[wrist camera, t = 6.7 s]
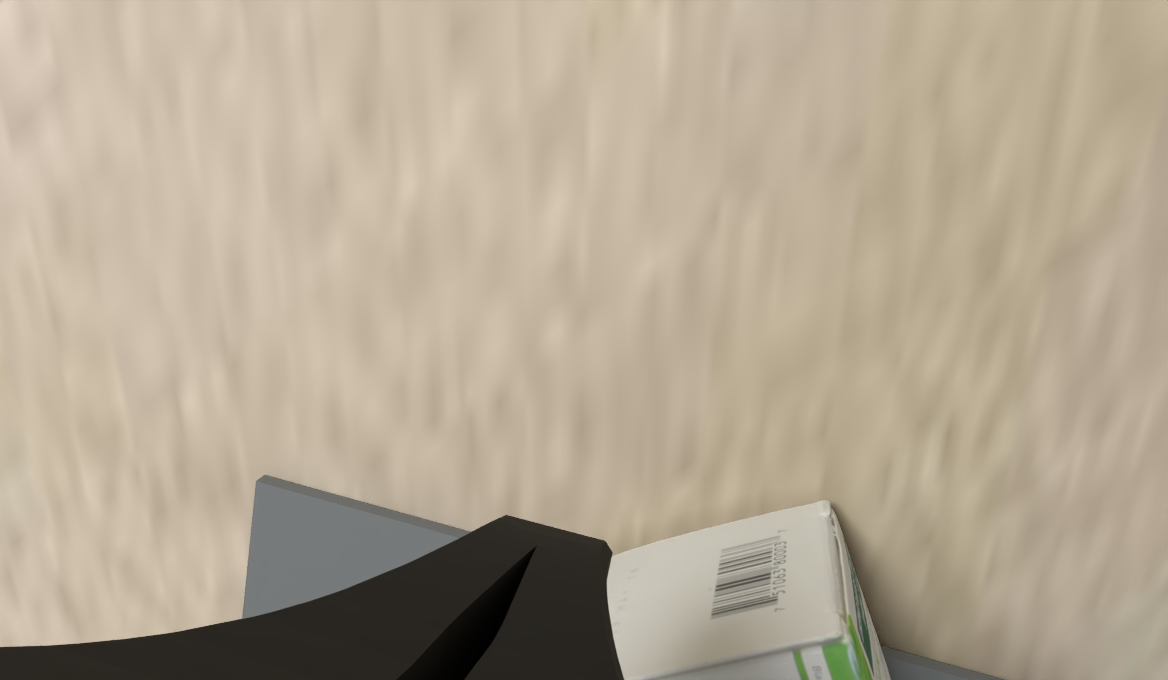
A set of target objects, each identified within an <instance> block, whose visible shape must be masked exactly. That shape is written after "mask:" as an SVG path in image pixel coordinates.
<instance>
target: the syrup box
mask: <svg viewBox="0 0 1168 680" xmlns="http://www.w3.org/2000/svg"><path fill="white" fill-rule="evenodd" d="M607 598H608V608H609V614H610V620H611V626H612V632H613V638H614V642H615V647H616V651H617V656H618V659H619V663H620V666H621V670H622V674H623V677H624V680H891V677H890V674H889V671H888V668H887V665H886V662H885V659H884V656H883V653H882V650H881V647H880V643H879V640H878V637H877V634H876V631H875V628H874V625H873V623H872V620H871V617H870V614H869V611H868V608H867V605H866V602H865V599H864V596H863V593H862V590H861V587H860V585H859V582H858V579H857V576H856V573H855V569H854V566H853V563H852V560H851V557H850V554H849V551H848V548H847V545H846V542H845V539H844V536H843V533H842V530H841V527H840V525H839V522H838V519H837V516H836V514H835V512H834V510H833V509H832V508H831V507H830V502H829V501H827V500H822V501H818V502H815V503H812V504H808V505H802V506H798V507H793V508H789V509H784V510H780V511H775V512H771V513H767V514H763V515H759V516H755V517H751V518H746V519H742V520H738V521H734V522H730V523H726V524H722V525H718V526H714V527H709V528H705V529H701V530H698V531H694V532H691V533H687V534H683V535H679V536H676V537H672V538H668V539H664V540H661V541H657V542H653V543H650V544H647V545H644V546H641V547H638V548H635V549H632V550H629V551H625V552H622V553H619V554H617V555H614V556H612V558H611V562H610V567H609V572H608V577H607Z"/></svg>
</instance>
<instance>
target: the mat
mask: <svg viewBox="0 0 1168 680" xmlns="http://www.w3.org/2000/svg"><path fill="white" fill-rule="evenodd" d="M468 533H470V532H468V531H465V530H461V529H458V528H454V527H450V526H447V525H443V524H439V523H436V522H432V521H429V520H425V519H421V518H418V517H414V516H411V515H407V514H403V513H400V512H396V511H392V510H389V509H385V508H382V507H378V506H374V505H371V504H367V503H364V502H360V501H356V500H353V499H349V498H345V497H342V496H338V495H335V494H331V493H327V492H324V491H320V490H317V489H313V488H309V487H306V486H302V485H298V484H295V483H291V482H288V481H284V480H280V479H277V478H273V477H270V476H266V475H264V476H263V477H261V478H260V479H258V480H257V481H256V487H255V497H254V507H253V517H252V527H251V537H250V547H249V557H248V567H247V577H246V587H245V597H244V607H243V617H242V619H244V618H249V617H254V616H258V615H262V614H266V613H270V612H273V611H277V610H280V609H284V608H287V607H291V606H294V605H298V604H301V603H305V602H308V601H311V600H314V599H317V598H320V597H323V596H326V595H330V594H332V593H335V592H338V591H341V590H344V589H346V588H349V587H351V586H354V585H356V584H358V583H361V582H363V581H366V580H368V579H371V578H373V577H375V576H378V575H380V574H383V573H385V572H388V571H390V570H392V569H395V568H397V567H400V566H402V565H405V564H407V563H409V562H411V561H413V560H416V559H418V558H420V557H422V556H424V555H426V554H428V553H430V552H432V551H434V550H436V549H438V548H440V547H442V546H444V545H447V544H449V543H451V542H453V541H455V540H457V539H459V538H461V537H463V536H465V535H467V534H468ZM880 647H881V650H882V653H883V656H884V659H885V662H886V665H887V668H888V671H889V674H890V677H891V680H1003V679H1000V678H996V677H992V676H989V675H985V674H982V673H978V672H974V671H971V670H967V669H964V668H960V667H956V666H953V665H949V664H945V663H942V662H938V661H935V660H931V659H927V658H924V657H920V656H917V655H913V654H909V653H906V652H902V651H898V650H895V649H891V648H888V647H884V646H880Z"/></svg>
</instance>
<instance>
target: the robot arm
mask: <svg viewBox="0 0 1168 680" xmlns="http://www.w3.org/2000/svg"><path fill="white" fill-rule="evenodd" d="M611 558H612V551H611V549H610V548H609V546H608V545H607V543H606V541H603V540H599V539H596V538H592V537H588V536H584V535H580V534H577V533H573V532H569V531H565V530H561V529H557V528H554V527H550V526H546V525H542V524H538V523H535V522H531V521H527V520H523V519H519V518H516V517H512V516H508V515H506V516H503V517H501V518H498V519H496V520H494V521H492V522H490V523H488V524H486V525H484V526H482V527H480V528H478V529H476V530H474V531H472V532H470V533H468V534H467V535H465V536H463V537H461V538H459V539H457V540H455V541H453V542H451V543H449V544H447V545H444V546H442V547H440V548H438V549H436V550H434V551H432V552H430V553H428V554H426V555H424V556H422V557H420V558H418V559H416V560H413V561H411V562H409V563H407V564H405V565H402V566H400V567H397V568H395V569H392V570H390V571H388V572H385V573H383V574H380V575H378V576H375V577H373V578H371V579H368V580H366V581H363V582H361V583H358V584H356V585H354V586H351V587H349V588H346V589H344V590H341V591H338V592H335V593H332V594H330V595H326V596H323V597H320V598H317V599H314V600H311V601H308V602H305V603H301V604H298V605H294V606H291V607H287V608H284V609H280V610H277V611H273V612H270V613H266V614H262V615H258V616H254V617H249V618H244V619H239V620H234V621H229V622H224V623H219V624H214V625H209V626H204V627H199V628H194V629H190V630H185V631H180V632H174V633H167V634H160V635H153V636H145V637H138V638H130V639H122V640H111V641H101V642H91V643H80V644H67V645H52V646H23V647H0V680H624V677H623V674H622V670H621V666H620V663H619V659H618V656H617V651H616V647H615V642H614V638H613V632H612V626H611V620H610V614H609V608H608V598H607V577H608V572H609V567H610V562H611Z"/></svg>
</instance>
